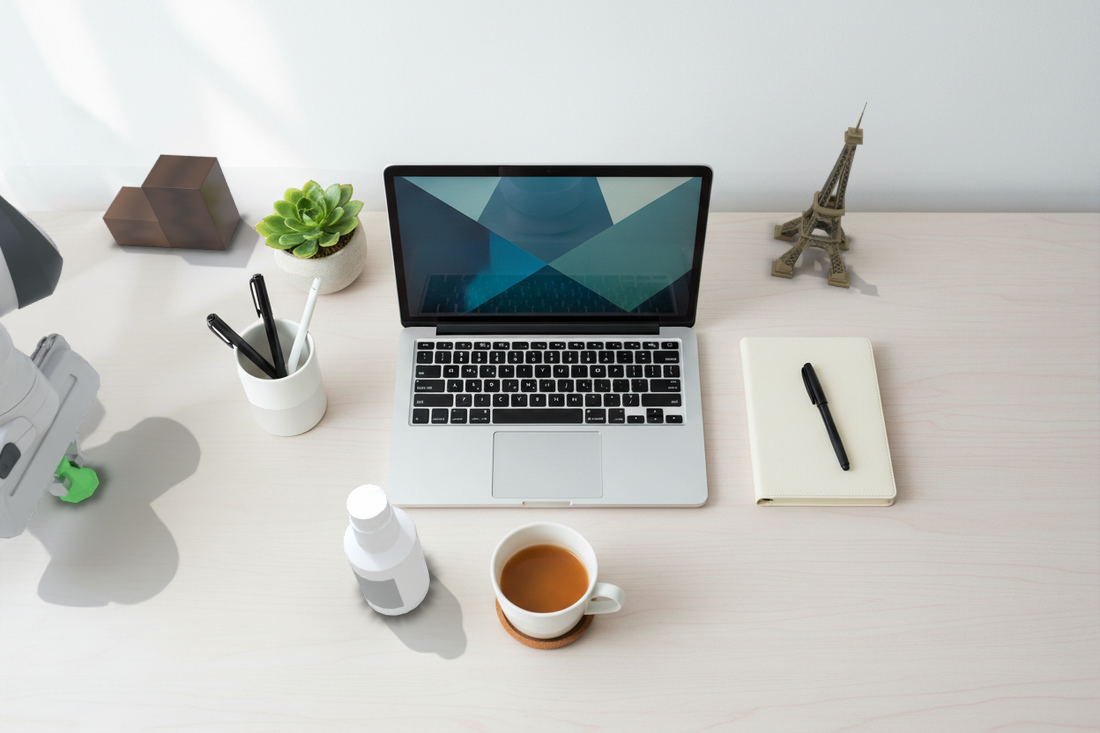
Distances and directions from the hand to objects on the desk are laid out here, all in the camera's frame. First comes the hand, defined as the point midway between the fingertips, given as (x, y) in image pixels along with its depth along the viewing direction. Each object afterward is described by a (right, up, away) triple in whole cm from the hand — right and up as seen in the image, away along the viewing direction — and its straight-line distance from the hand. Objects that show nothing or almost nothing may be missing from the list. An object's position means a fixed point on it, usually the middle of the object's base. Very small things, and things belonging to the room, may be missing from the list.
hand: (70, 477), depth 86 cm
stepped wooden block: (-1, +32, +28) cm, 43 cm away
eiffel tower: (+91, +28, +26) cm, 98 cm away
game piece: (0, -1, +2) cm, 2 cm away
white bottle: (+37, -11, -5) cm, 39 cm away
